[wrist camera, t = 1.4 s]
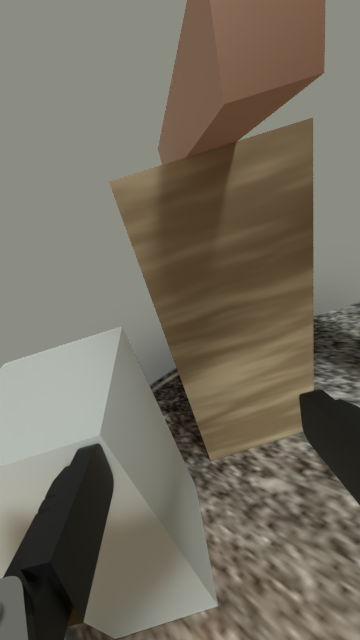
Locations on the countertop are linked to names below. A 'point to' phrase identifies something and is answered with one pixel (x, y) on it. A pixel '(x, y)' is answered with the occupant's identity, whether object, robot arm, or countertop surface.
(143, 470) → the grey block
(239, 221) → the oak stand
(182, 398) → the countertop surface
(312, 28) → the terracotta bar
